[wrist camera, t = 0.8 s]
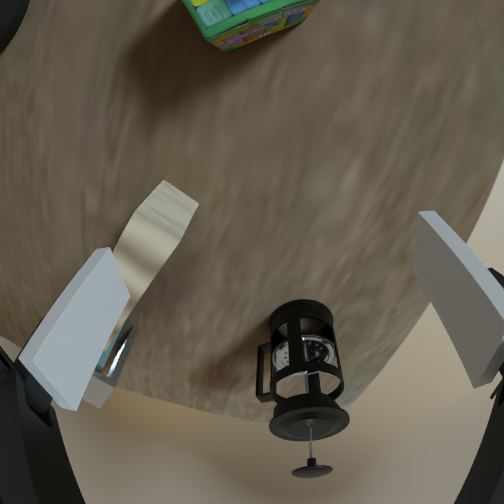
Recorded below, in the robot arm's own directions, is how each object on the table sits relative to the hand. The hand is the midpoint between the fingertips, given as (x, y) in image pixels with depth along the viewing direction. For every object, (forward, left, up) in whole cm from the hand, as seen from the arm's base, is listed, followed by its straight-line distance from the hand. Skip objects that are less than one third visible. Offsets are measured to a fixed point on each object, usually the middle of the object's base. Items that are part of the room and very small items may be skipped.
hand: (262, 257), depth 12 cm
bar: (-5, -21, -22) cm, 31 cm away
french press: (+19, -18, -22) cm, 34 cm away
